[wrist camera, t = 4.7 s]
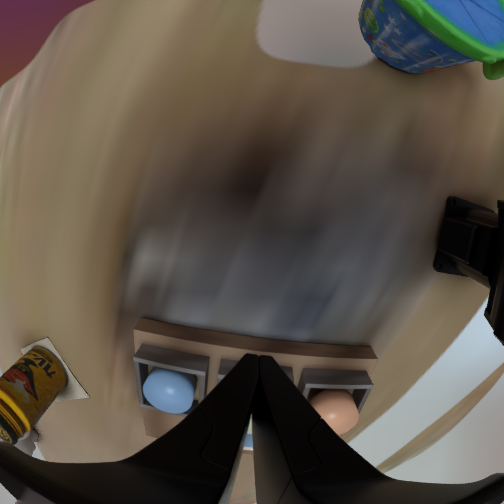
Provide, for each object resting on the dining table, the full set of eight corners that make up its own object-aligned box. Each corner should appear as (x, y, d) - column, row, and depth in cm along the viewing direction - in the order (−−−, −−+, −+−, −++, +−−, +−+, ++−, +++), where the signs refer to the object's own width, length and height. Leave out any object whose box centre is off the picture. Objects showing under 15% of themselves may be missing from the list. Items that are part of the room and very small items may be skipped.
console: (370, 346, 23) (386, 373, 19) (327, 443, 26) (332, 469, 23) (142, 317, 23) (123, 341, 19) (151, 422, 26) (141, 448, 22)
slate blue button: (197, 367, 21) (192, 383, 19) (196, 401, 22) (191, 417, 20) (149, 357, 21) (141, 371, 19) (151, 392, 22) (145, 407, 20)
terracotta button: (359, 388, 20) (366, 404, 18) (344, 420, 21) (349, 436, 19) (313, 387, 20) (316, 404, 18) (300, 420, 21) (303, 437, 19)
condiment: (48, 336, 24) (-18, 398, 13) (90, 396, 26) (43, 467, 14) (20, 348, 25) (-35, 399, 13) (58, 401, 27) (15, 459, 15)
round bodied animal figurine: (53, 416, 32) (33, 441, 23) (37, 452, 30) (20, 476, 21) (20, 388, 31) (-4, 408, 22) (7, 427, 29) (-13, 447, 20)
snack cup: (288, 37, 17) (306, -47, 7) (329, -35, 14) (354, -104, 4) (454, 132, 18) (540, 122, 8) (471, 51, 15) (536, 22, 6)
